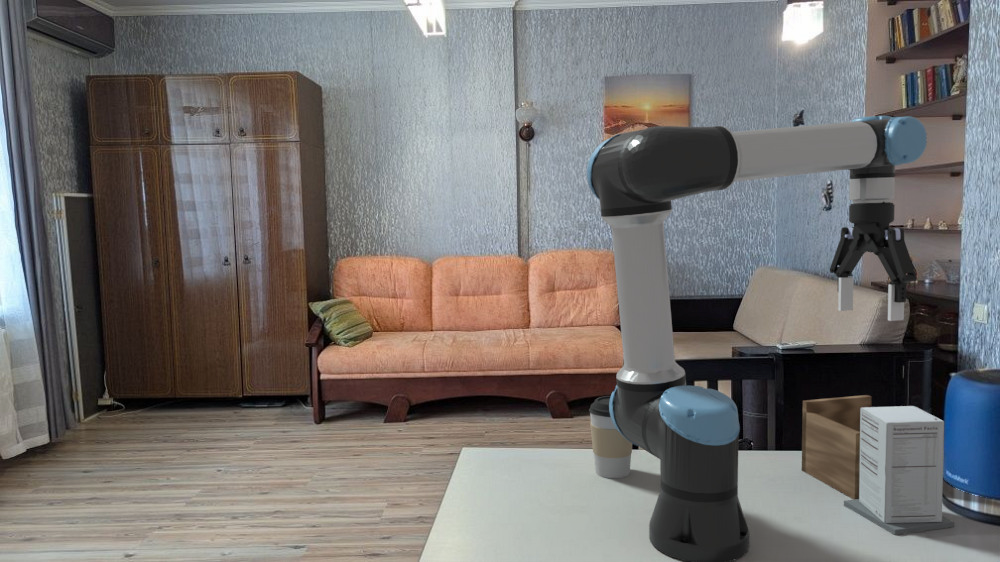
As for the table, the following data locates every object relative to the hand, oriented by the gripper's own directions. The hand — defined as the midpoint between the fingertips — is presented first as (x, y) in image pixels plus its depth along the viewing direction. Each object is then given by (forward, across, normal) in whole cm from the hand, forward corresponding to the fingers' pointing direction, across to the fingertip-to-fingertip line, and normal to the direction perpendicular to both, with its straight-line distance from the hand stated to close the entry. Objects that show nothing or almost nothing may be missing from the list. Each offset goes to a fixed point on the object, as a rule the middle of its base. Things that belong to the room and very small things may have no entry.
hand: (869, 315), depth 137 cm
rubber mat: (+31, -18, +8) cm, 36 cm away
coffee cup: (+31, +14, +46) cm, 57 cm away
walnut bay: (+31, -3, +3) cm, 31 cm away
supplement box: (+30, -18, +8) cm, 36 cm away
